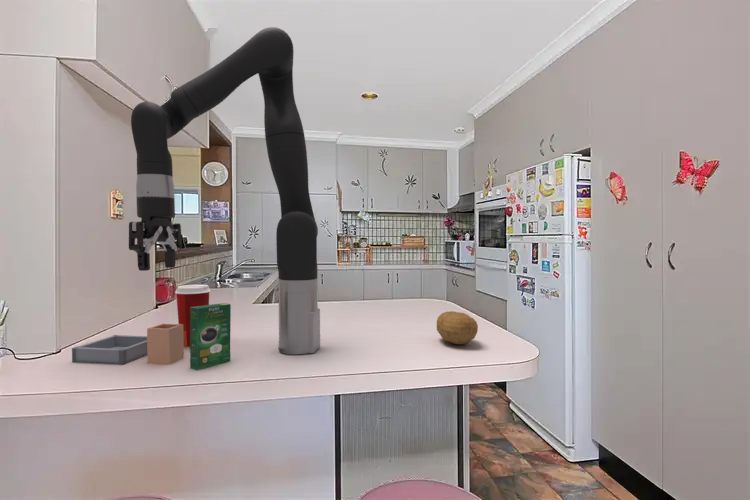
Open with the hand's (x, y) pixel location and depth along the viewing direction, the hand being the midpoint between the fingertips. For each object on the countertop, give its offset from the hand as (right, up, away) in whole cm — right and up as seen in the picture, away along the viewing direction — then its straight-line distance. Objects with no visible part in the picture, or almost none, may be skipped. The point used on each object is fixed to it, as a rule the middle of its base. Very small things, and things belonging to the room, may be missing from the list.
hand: (158, 268), depth 92 cm
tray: (-9, -20, 0) cm, 22 cm away
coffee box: (+14, -21, -6) cm, 26 cm away
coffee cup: (+3, -20, +11) cm, 23 cm away
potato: (+70, -20, +14) cm, 74 cm away
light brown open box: (+4, -20, -3) cm, 21 cm away
